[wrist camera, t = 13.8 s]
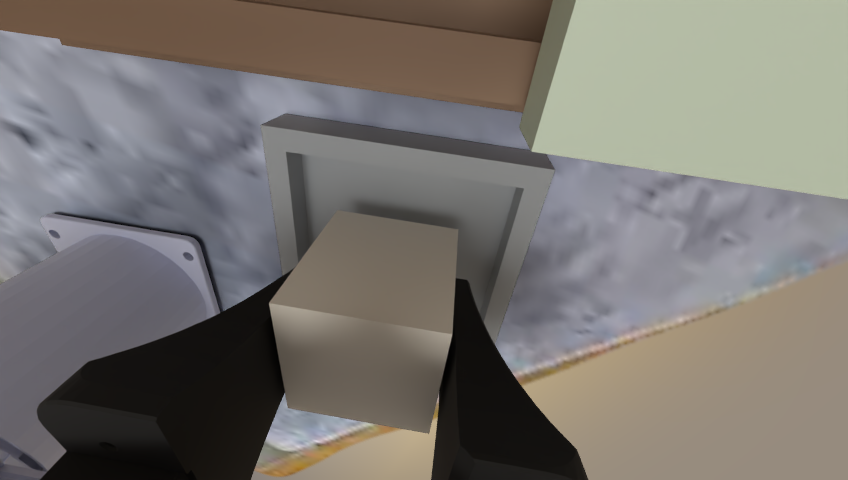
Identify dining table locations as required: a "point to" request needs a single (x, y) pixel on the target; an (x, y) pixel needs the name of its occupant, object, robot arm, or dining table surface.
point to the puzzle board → (318, 40)
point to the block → (368, 321)
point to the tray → (409, 194)
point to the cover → (698, 89)
